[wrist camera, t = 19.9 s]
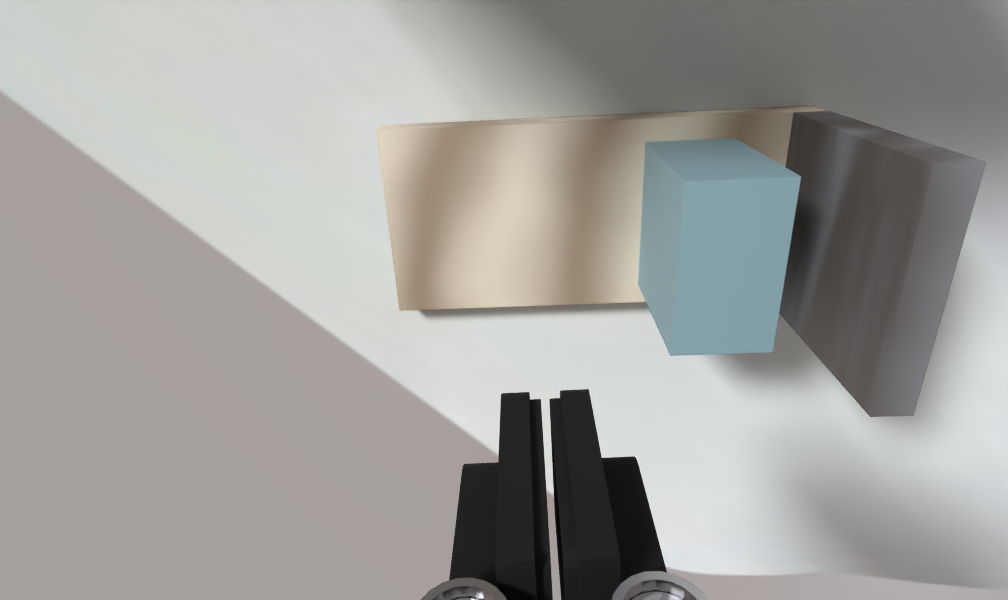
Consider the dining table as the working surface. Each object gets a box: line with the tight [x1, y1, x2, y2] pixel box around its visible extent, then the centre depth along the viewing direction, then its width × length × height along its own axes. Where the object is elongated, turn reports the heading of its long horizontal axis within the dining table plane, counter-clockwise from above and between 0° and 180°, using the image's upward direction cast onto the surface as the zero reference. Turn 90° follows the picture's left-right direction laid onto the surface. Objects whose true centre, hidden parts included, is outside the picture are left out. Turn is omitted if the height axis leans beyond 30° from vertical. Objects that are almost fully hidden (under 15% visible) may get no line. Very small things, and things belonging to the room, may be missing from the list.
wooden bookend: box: [376, 106, 986, 417], centre depth 25 cm, size 20×9×12 cm, turn 93°
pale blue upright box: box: [638, 138, 801, 356], centre depth 26 cm, size 4×7×7 cm, turn 3°
